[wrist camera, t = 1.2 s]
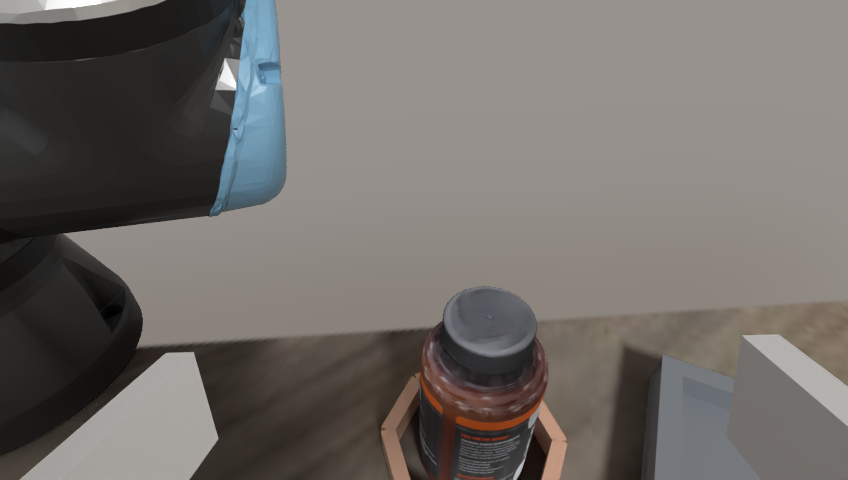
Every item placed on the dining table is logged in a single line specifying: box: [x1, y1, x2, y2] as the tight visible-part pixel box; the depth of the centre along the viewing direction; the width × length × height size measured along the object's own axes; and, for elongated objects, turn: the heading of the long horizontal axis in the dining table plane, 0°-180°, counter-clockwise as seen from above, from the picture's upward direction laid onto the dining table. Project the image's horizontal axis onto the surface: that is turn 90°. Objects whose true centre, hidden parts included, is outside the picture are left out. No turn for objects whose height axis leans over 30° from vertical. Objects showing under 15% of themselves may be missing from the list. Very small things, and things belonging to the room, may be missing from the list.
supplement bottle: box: [420, 286, 548, 480], centre depth 22 cm, size 6×6×11 cm
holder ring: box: [381, 372, 568, 480], centre depth 25 cm, size 10×10×2 cm
